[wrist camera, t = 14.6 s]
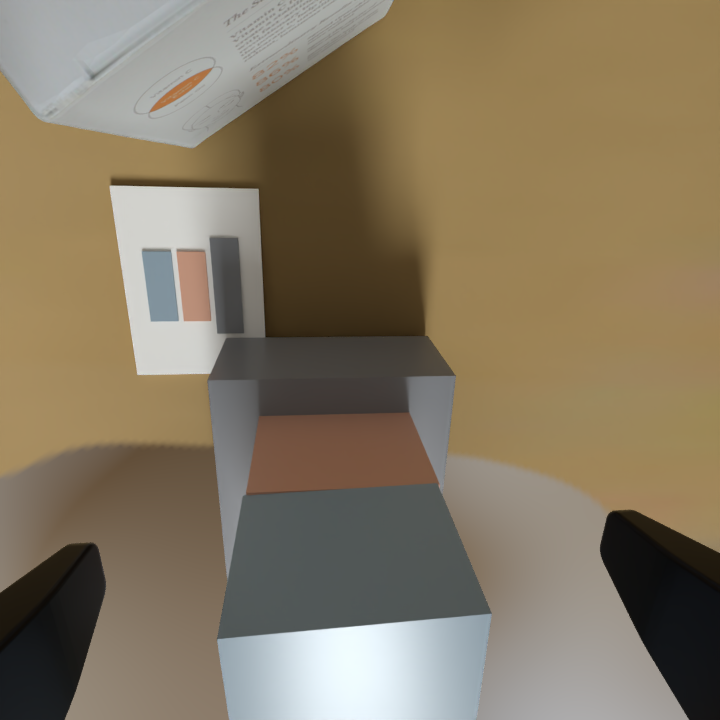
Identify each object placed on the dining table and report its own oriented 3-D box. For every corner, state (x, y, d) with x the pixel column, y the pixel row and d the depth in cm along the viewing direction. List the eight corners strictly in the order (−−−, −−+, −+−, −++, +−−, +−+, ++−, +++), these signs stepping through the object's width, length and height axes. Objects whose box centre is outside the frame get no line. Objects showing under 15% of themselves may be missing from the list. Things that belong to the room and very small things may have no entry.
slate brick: (437, 482, 13) (491, 613, 9) (422, 666, 15) (460, 825, 12) (242, 495, 12) (217, 639, 9) (262, 683, 15) (249, 854, 11)
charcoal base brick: (427, 335, 20) (455, 375, 16) (411, 531, 24) (430, 599, 20) (226, 337, 19) (207, 380, 15) (242, 540, 23) (230, 613, 19)
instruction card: (258, 188, 17) (258, 189, 17) (267, 370, 20) (266, 373, 20) (111, 185, 17) (108, 185, 17) (139, 372, 19) (136, 375, 19)
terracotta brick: (409, 412, 16) (439, 484, 13) (397, 570, 19) (419, 668, 15) (259, 415, 16) (245, 492, 12) (267, 578, 19) (259, 682, 15)
